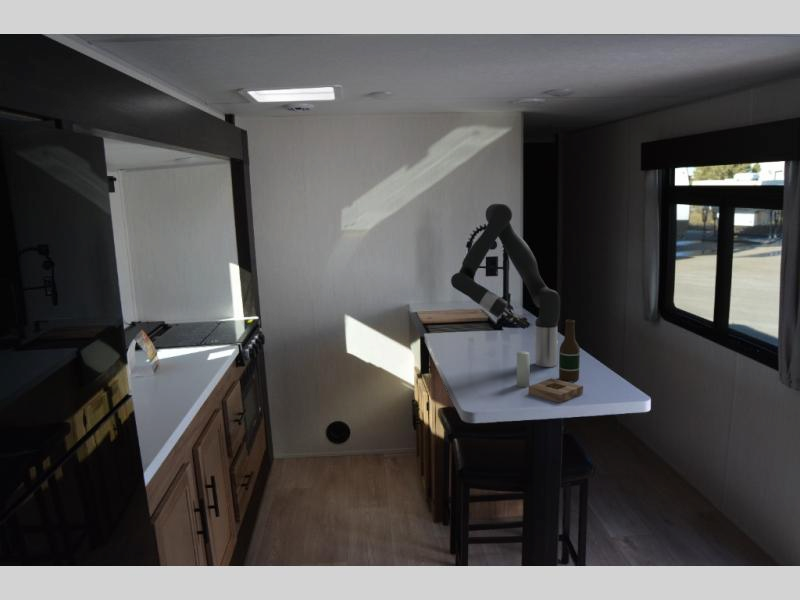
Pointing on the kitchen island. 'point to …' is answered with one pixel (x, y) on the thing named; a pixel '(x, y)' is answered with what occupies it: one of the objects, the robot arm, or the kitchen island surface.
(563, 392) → the walnut block
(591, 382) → the kitchen island surface
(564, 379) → the beer bottle
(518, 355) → the pale green cylinder
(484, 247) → the robot arm
